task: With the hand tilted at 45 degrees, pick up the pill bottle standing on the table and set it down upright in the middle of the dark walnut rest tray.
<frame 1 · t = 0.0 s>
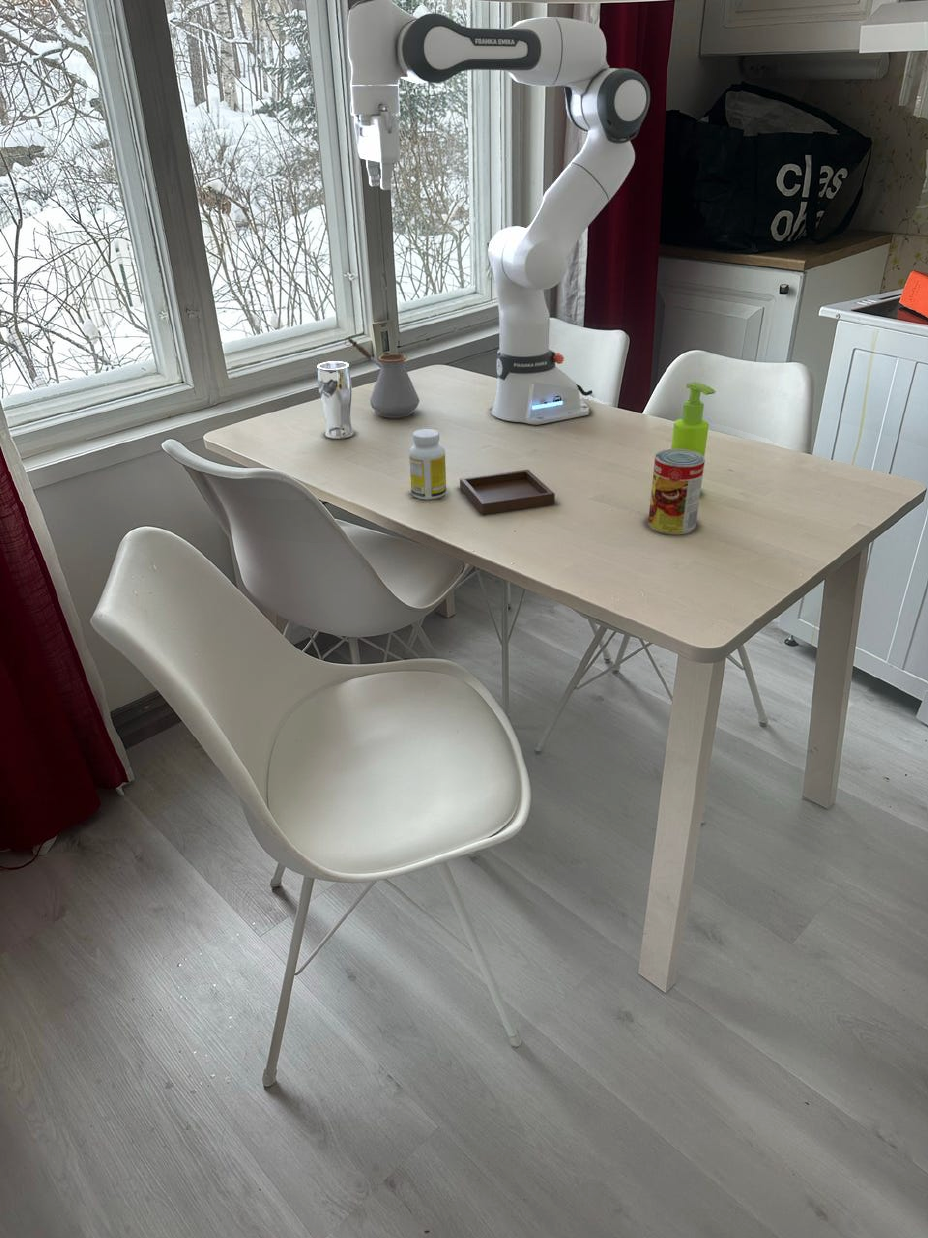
hand: (380, 187, 166), 48 cm above the table, tool pointing down, fingers open, 8 cm apart
canned food: (671, 525, 145), on the table
beer glass: (339, 435, 188), on the table
pill bottle: (428, 495, 158), on the table
soap dispenser: (684, 494, 157), on the table
rest tray: (506, 496, 156), on the table
coffee pot: (381, 409, 203), on the table
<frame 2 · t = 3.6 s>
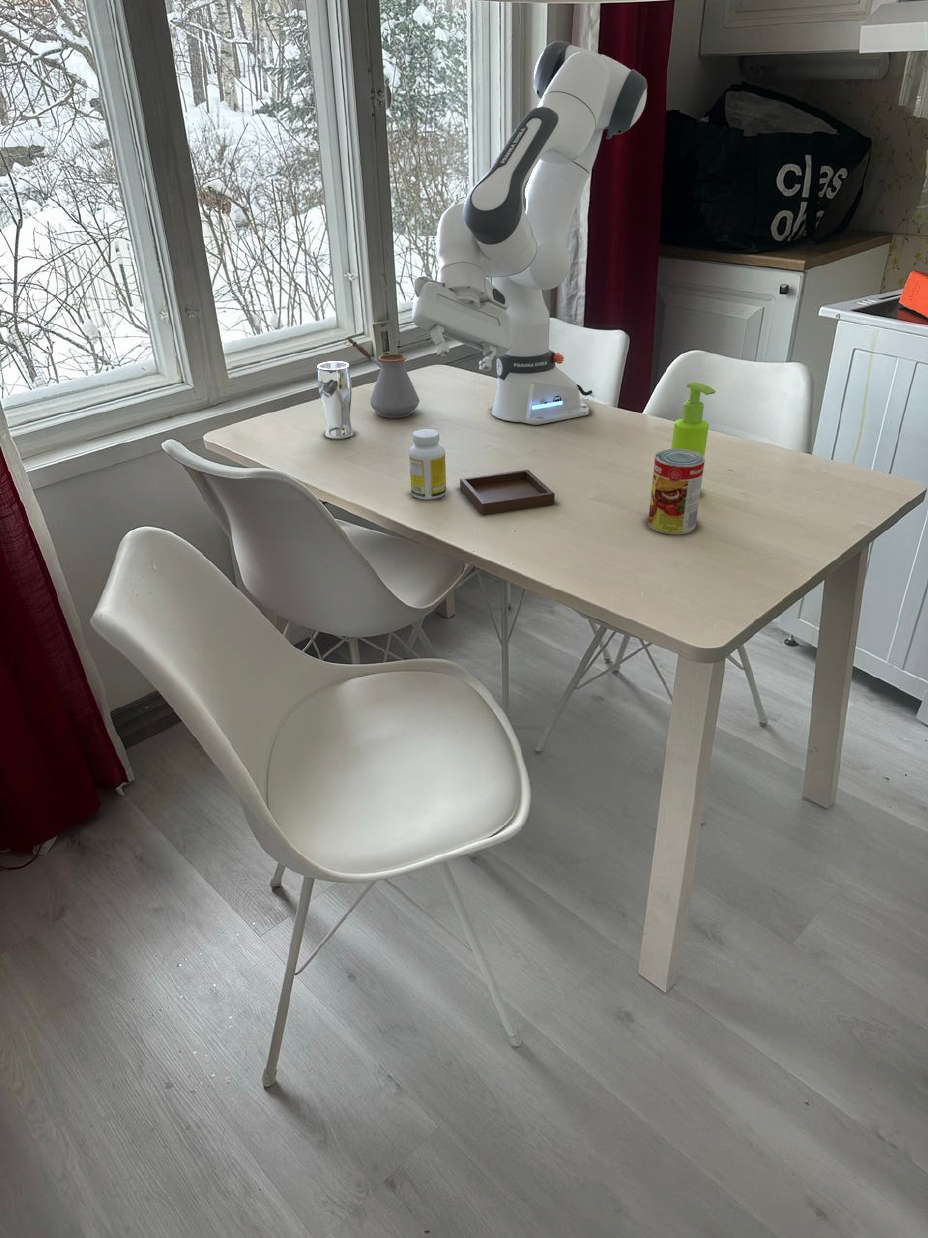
hand: (464, 362, 151), 23 cm above the table, tool tilted 45°, fingers open, 8 cm apart
nothing on the table moved.
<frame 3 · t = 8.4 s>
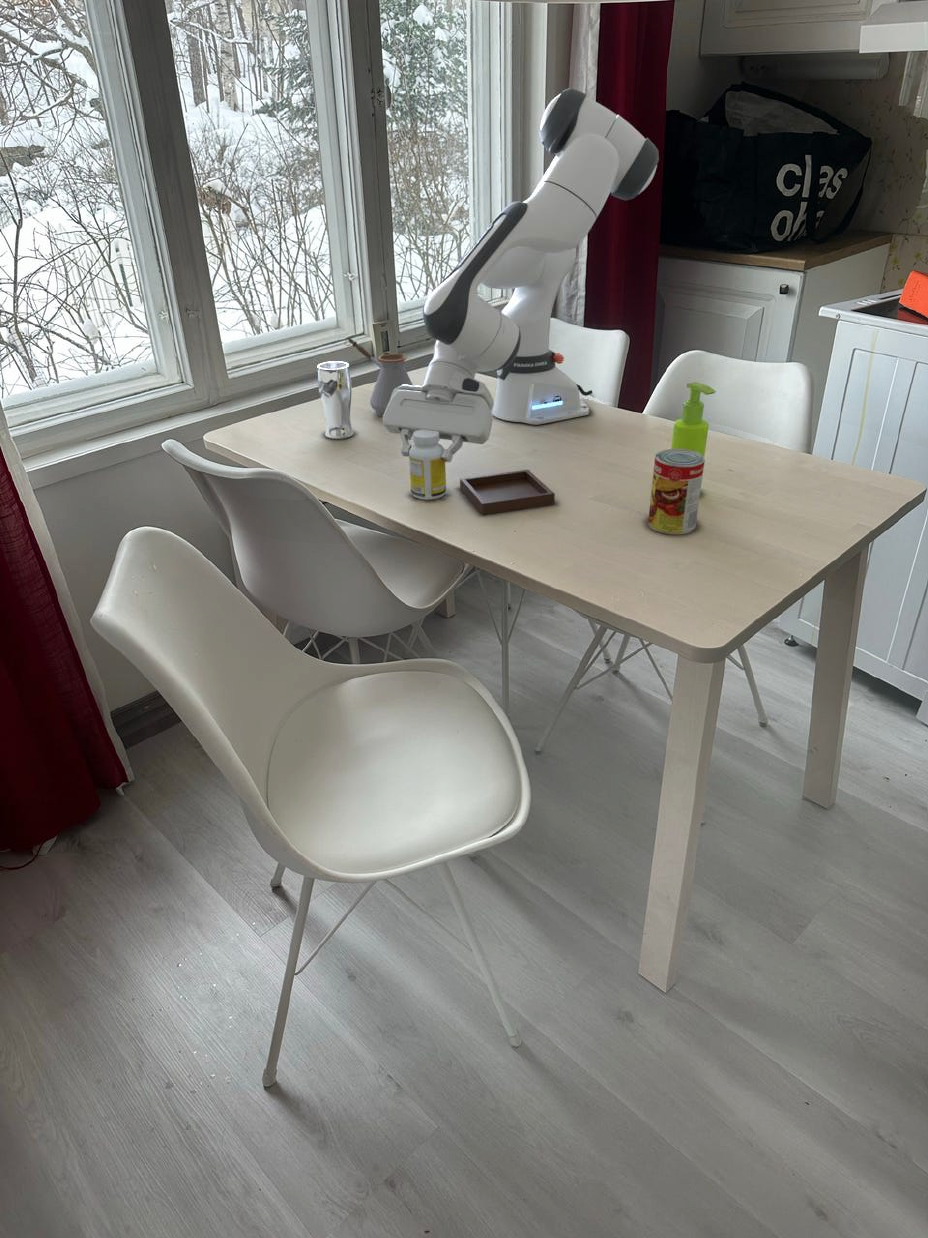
hand: (425, 457, 154), 7 cm above the table, tool tilted 45°, fingers closed on pill bottle, 6 cm apart
pill bottle: (428, 495, 158), on the table, touching gripper
everything else where it was.
when the fingers open (8 cm above the table, at t = 16.4 s): pill bottle stays where it is, resting on rest tray.
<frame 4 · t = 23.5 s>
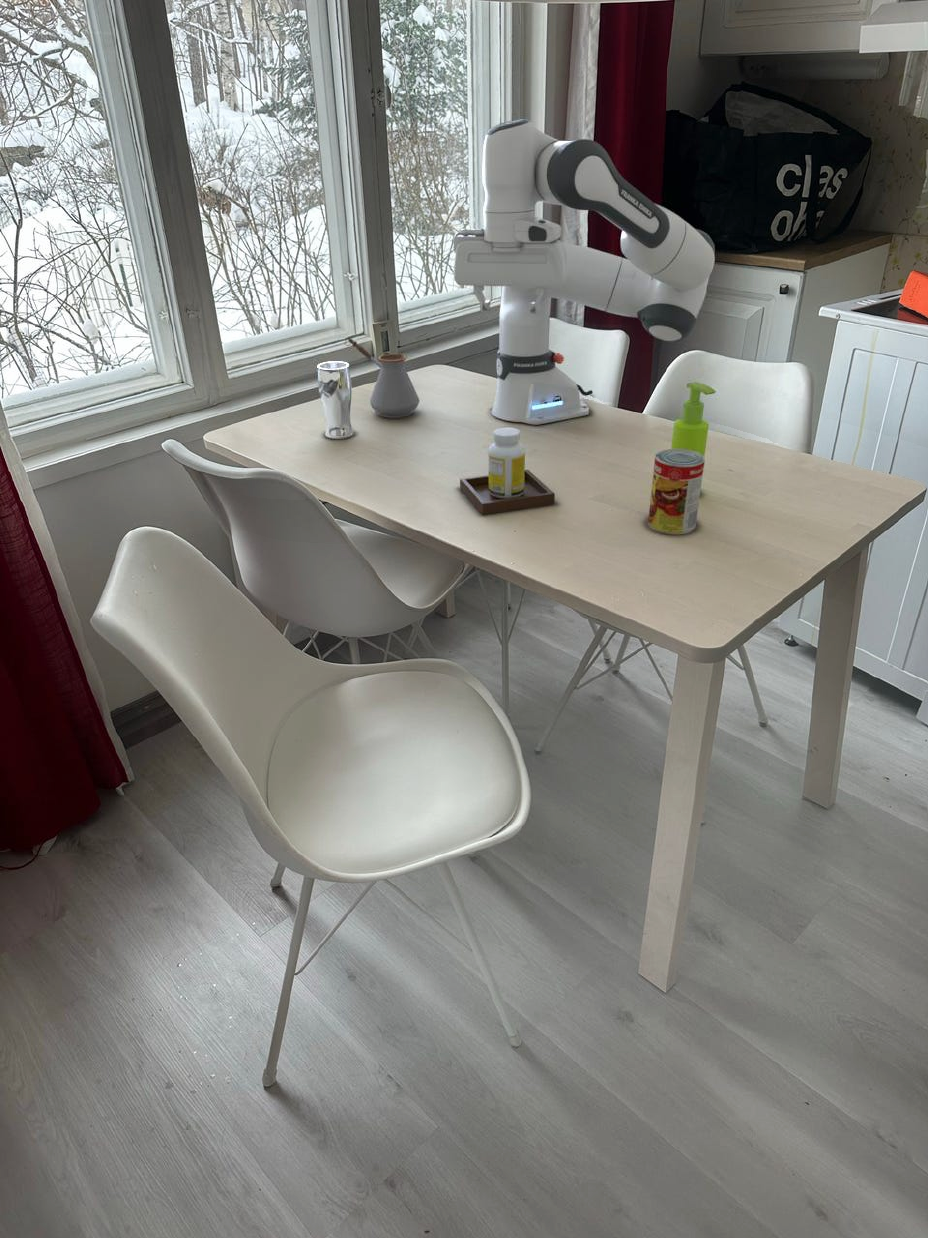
hand: (510, 312, 155), 29 cm above the table, tool pointing down, fingers open, 8 cm apart
pill bottle: (506, 494, 156), resting on rest tray
everything else where it was.
at the end: pill bottle inside the target area in the rest tray (0.0 cm from its centre), point 0.4 cm above the rest tray's base; pill bottle tilted 0°; the gripper is holding nothing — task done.
